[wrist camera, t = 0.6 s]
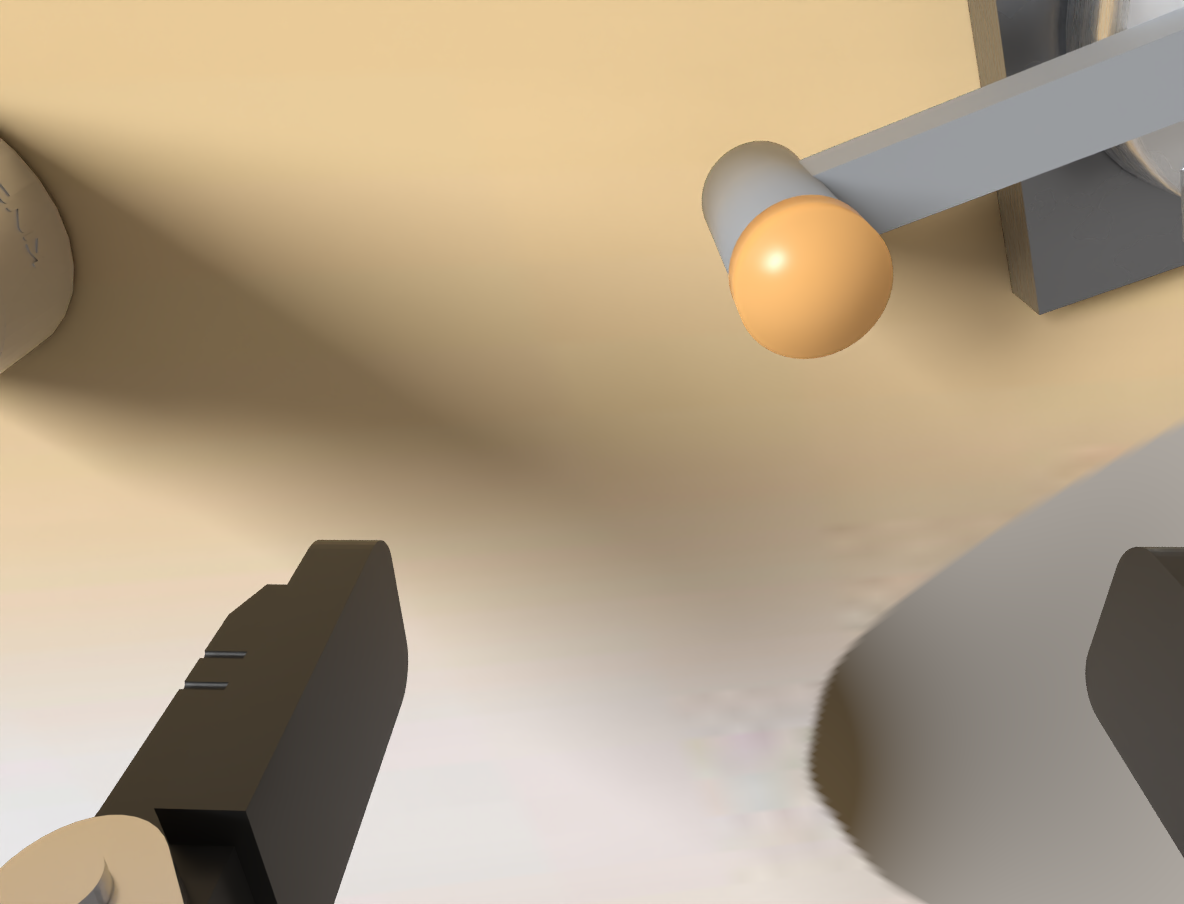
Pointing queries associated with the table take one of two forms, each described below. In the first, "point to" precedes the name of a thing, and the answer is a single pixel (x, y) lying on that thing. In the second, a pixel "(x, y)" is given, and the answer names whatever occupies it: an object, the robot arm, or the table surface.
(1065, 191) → the base plate
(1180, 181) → the orange knob lever
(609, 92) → the table surface
